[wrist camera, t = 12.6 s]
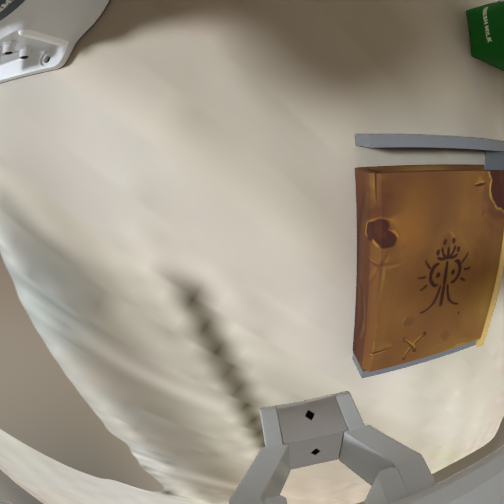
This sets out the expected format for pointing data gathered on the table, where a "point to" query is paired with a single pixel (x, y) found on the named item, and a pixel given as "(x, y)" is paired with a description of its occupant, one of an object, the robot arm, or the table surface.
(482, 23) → the milk carton
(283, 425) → the robot arm
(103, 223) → the table surface
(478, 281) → the diary
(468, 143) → the bay
